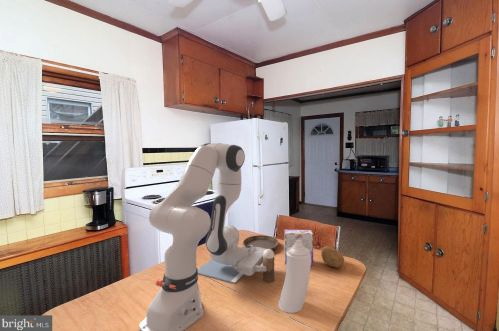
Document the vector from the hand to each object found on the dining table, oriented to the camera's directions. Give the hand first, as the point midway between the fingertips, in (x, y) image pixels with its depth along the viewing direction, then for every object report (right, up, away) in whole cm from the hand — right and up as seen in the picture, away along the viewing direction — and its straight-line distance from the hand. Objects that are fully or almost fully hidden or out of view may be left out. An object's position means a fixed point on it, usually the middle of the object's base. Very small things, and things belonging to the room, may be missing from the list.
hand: (270, 264), depth 108 cm
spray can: (+8, -9, -16) cm, 20 cm away
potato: (+32, -6, +13) cm, 35 cm away
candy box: (+16, -6, +16) cm, 24 cm away
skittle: (-1, -7, +1) cm, 8 cm away
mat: (-21, -7, +11) cm, 25 cm away
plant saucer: (-3, -5, +36) cm, 37 cm away
